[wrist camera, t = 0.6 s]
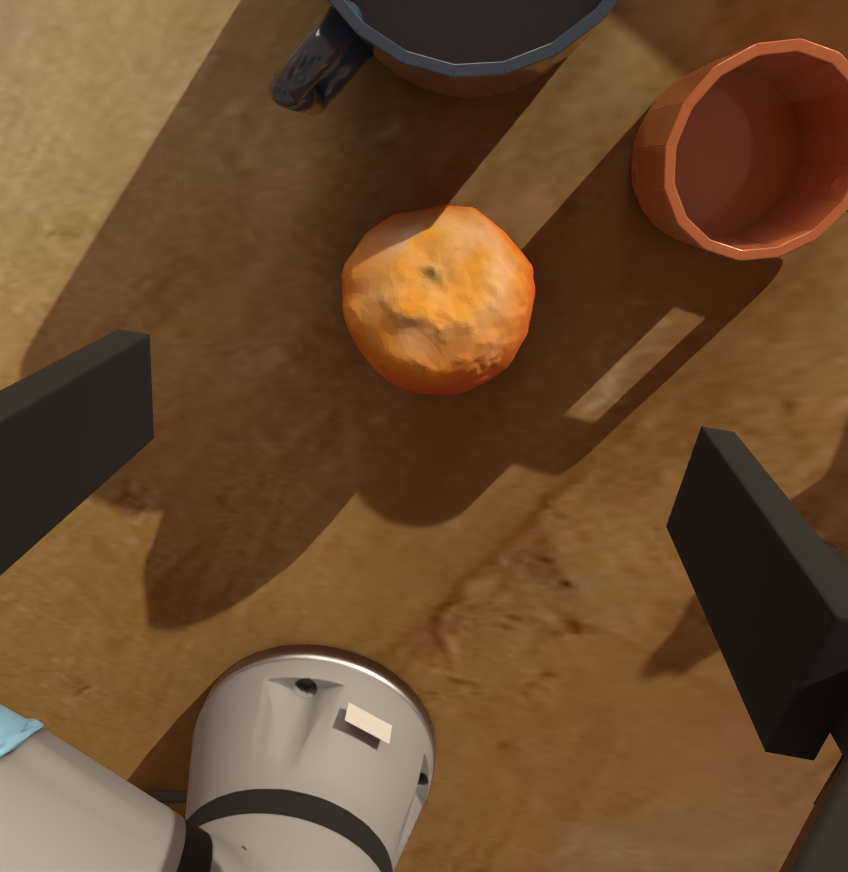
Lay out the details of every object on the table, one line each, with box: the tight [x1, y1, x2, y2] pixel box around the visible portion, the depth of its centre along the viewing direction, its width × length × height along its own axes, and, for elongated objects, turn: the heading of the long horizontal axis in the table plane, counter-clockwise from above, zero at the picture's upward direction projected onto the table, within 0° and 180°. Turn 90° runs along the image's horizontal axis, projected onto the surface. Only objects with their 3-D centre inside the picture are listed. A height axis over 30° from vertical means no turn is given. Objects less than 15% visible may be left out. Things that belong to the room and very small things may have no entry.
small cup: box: [631, 38, 848, 261], centre depth 26 cm, size 10×7×6 cm
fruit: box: [341, 204, 535, 396], centre depth 29 cm, size 8×8×8 cm
